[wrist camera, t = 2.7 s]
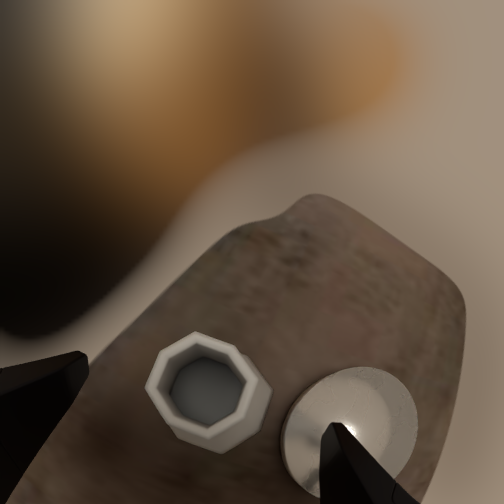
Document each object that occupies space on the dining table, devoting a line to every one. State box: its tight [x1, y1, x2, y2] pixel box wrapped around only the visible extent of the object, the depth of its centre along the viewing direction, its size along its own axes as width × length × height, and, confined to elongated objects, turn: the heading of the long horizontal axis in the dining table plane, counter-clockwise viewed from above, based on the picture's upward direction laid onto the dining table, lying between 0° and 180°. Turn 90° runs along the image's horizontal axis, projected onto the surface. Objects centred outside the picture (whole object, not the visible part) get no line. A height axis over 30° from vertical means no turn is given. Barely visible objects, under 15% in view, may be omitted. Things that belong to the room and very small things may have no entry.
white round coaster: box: [280, 367, 418, 498], centre depth 13 cm, size 9×9×2 cm
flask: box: [145, 331, 274, 454], centre depth 11 cm, size 7×7×10 cm
